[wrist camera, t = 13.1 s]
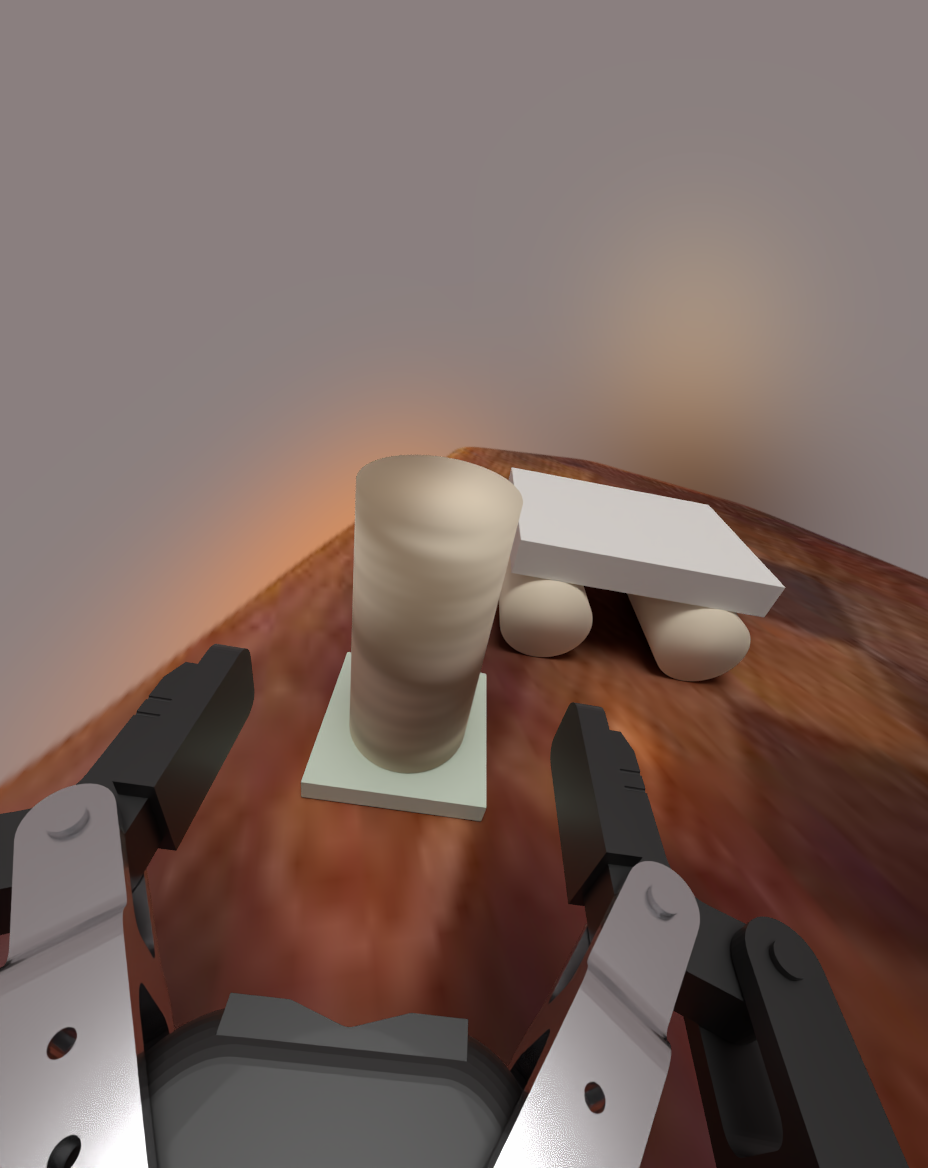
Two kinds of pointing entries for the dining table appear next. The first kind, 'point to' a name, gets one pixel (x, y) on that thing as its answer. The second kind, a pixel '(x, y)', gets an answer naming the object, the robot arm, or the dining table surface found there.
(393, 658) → the roller
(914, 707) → the dining table surface
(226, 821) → the dining table surface
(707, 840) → the dining table surface
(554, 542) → the slab rig
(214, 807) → the dining table surface
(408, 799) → the green mark
